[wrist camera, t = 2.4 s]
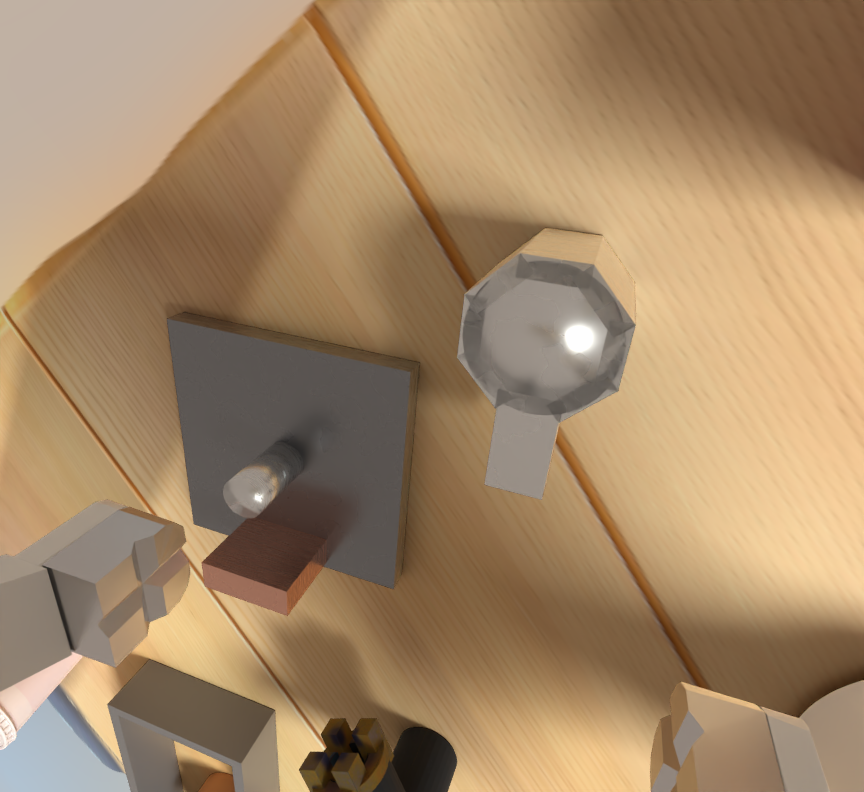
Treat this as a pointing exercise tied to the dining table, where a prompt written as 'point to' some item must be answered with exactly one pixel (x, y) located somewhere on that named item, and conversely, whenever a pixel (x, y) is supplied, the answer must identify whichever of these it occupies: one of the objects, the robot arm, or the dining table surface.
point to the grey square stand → (293, 456)
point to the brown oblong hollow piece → (218, 783)
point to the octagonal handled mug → (545, 346)
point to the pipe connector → (379, 760)
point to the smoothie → (29, 697)
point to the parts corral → (191, 730)
